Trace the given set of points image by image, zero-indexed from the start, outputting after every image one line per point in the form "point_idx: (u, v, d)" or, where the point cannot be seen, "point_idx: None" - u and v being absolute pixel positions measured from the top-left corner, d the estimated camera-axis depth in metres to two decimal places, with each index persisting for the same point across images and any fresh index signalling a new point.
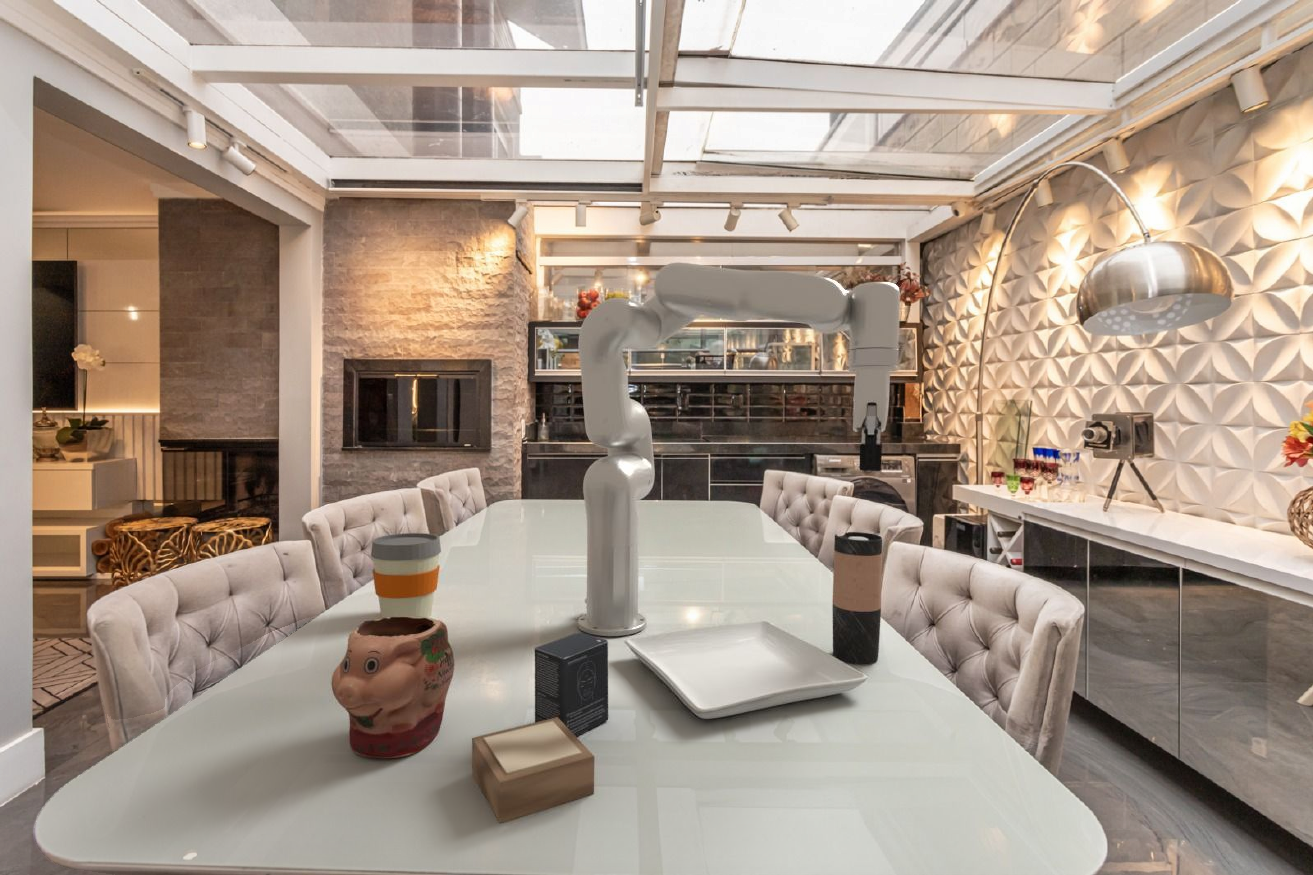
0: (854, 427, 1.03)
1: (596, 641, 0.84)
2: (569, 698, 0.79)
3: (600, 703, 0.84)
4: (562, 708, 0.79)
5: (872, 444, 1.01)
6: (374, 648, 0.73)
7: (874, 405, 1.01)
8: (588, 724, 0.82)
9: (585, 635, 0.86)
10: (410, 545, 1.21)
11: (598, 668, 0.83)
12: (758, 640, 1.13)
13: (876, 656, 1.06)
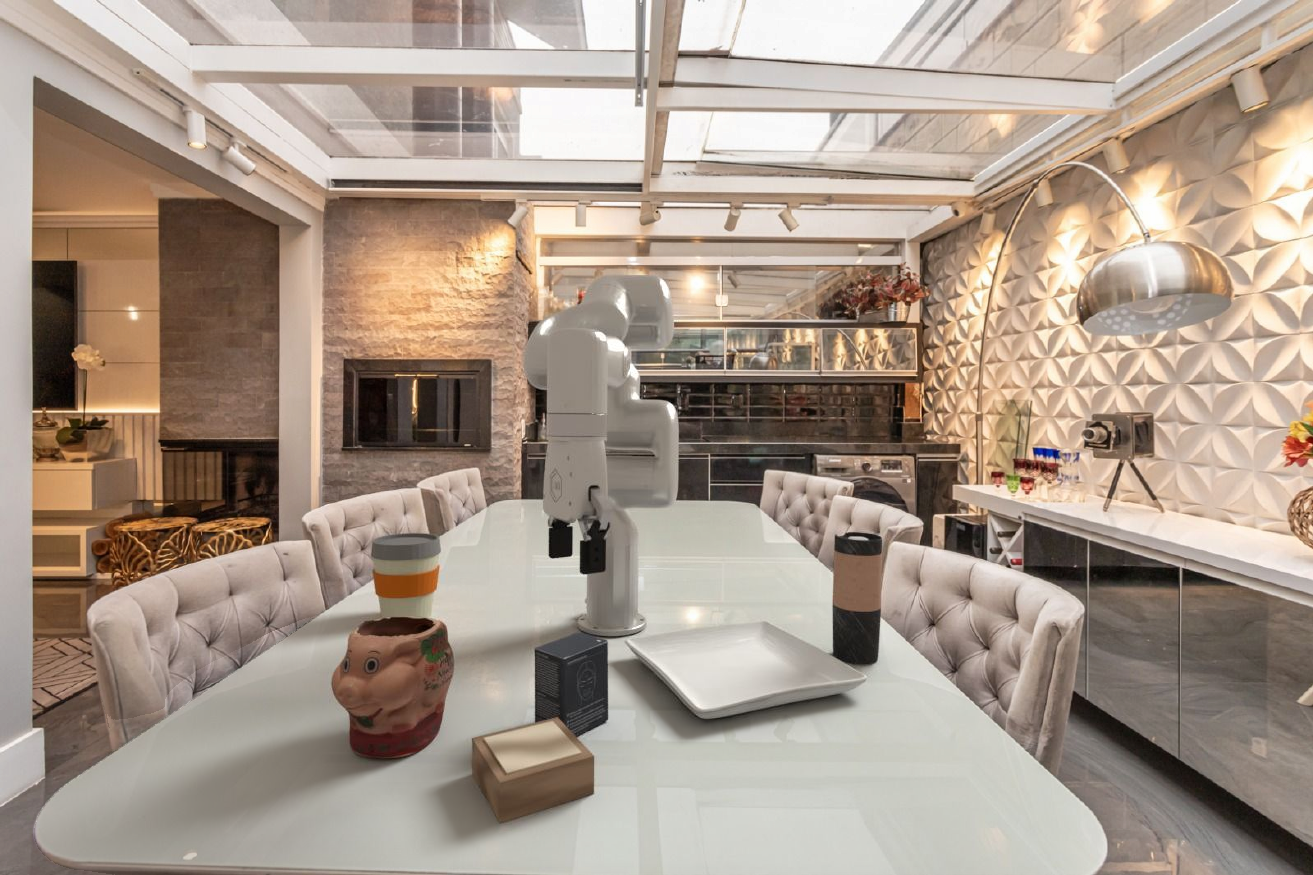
0: (572, 518, 0.78)
1: (596, 641, 0.84)
2: (569, 698, 0.79)
3: (599, 703, 0.84)
4: (561, 708, 0.79)
5: (598, 540, 0.78)
6: (374, 648, 0.73)
7: (597, 489, 0.78)
8: (588, 724, 0.82)
9: (585, 635, 0.86)
10: (410, 545, 1.21)
11: (598, 668, 0.83)
12: (758, 640, 1.13)
13: (876, 656, 1.06)
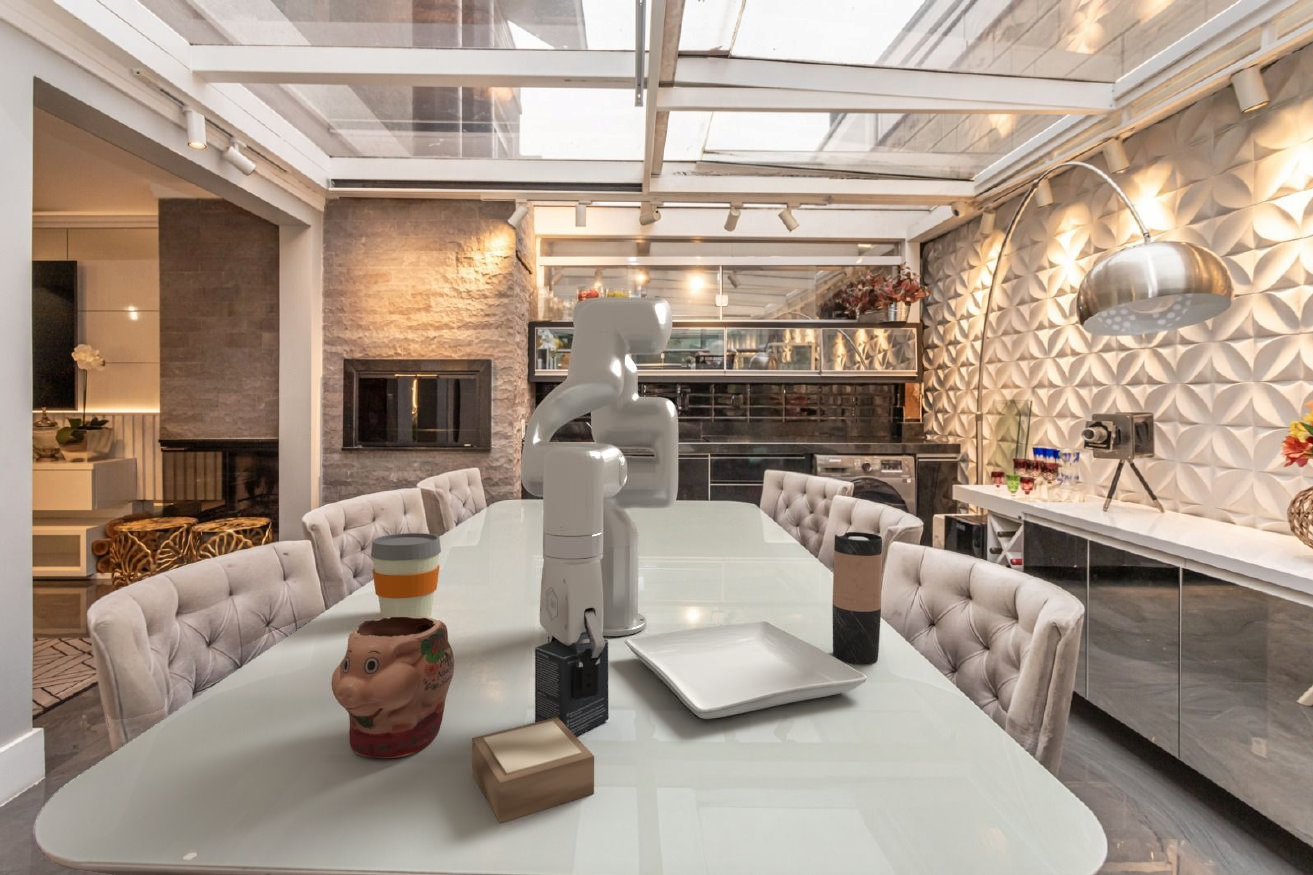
0: (568, 642, 0.78)
1: None
2: (569, 697, 0.79)
3: (600, 703, 0.84)
4: (562, 708, 0.79)
5: (590, 666, 0.79)
6: (374, 648, 0.73)
7: (593, 615, 0.79)
8: (588, 724, 0.82)
9: (585, 635, 0.86)
10: (410, 545, 1.21)
11: (598, 668, 0.83)
12: (758, 640, 1.13)
13: (876, 656, 1.06)
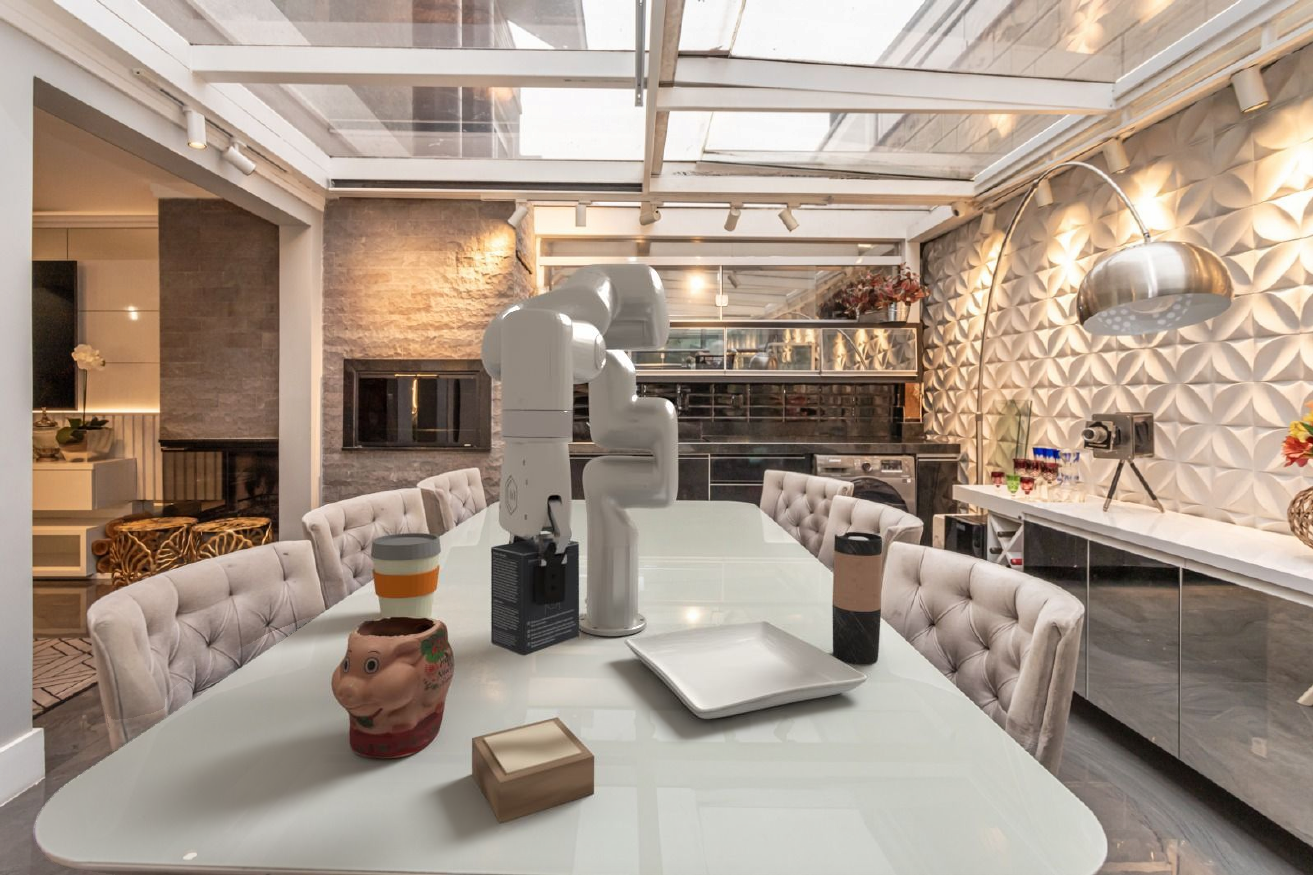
0: (528, 535, 0.65)
1: None
2: (530, 603, 0.67)
3: (568, 615, 0.71)
4: (521, 614, 0.66)
5: (556, 565, 0.66)
6: (374, 648, 0.73)
7: (558, 503, 0.66)
8: (554, 638, 0.69)
9: None
10: (410, 545, 1.21)
11: (567, 573, 0.70)
12: (758, 640, 1.13)
13: (876, 656, 1.06)
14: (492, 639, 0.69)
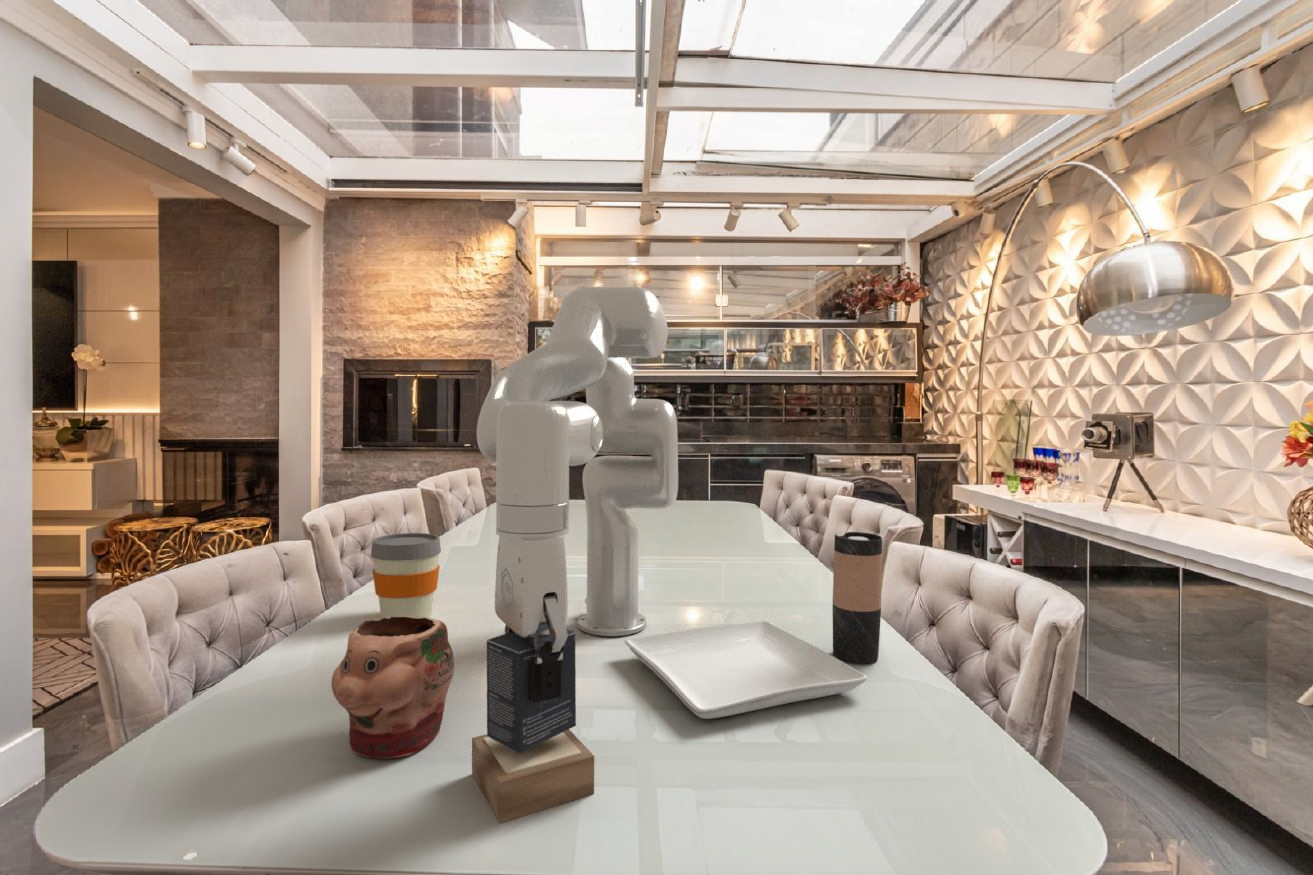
0: (524, 634, 0.65)
1: None
2: (526, 700, 0.66)
3: (565, 706, 0.70)
4: (516, 712, 0.66)
5: (552, 662, 0.66)
6: (374, 648, 0.73)
7: (554, 600, 0.66)
8: (551, 731, 0.69)
9: None
10: (410, 545, 1.21)
11: (563, 665, 0.70)
12: (758, 640, 1.13)
13: (876, 656, 1.06)
14: (488, 732, 0.69)
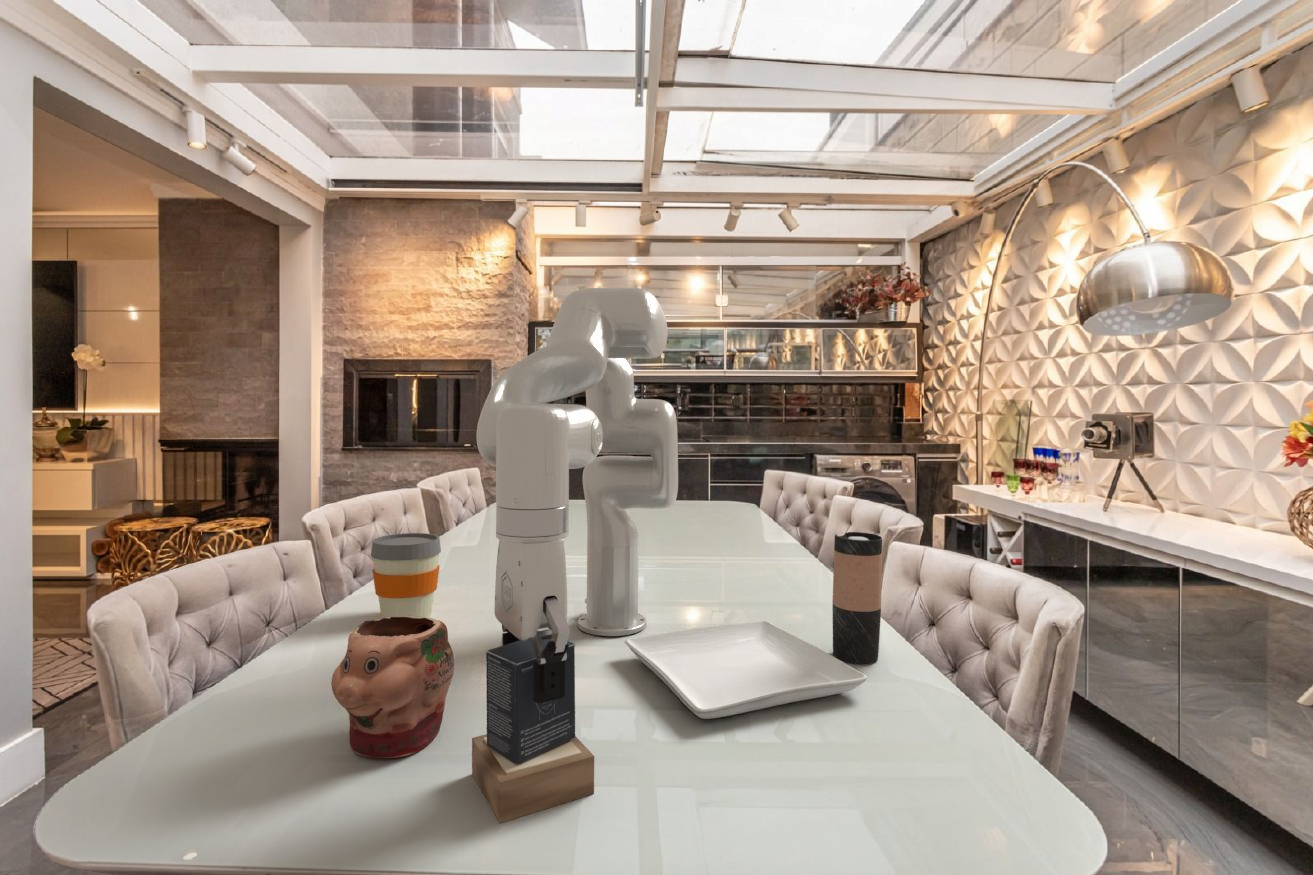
0: (524, 637, 0.65)
1: None
2: (524, 711, 0.66)
3: (564, 718, 0.70)
4: (514, 723, 0.66)
5: (555, 662, 0.65)
6: (374, 648, 0.73)
7: (554, 600, 0.65)
8: (549, 743, 0.69)
9: None
10: (410, 545, 1.21)
11: None
12: (758, 640, 1.13)
13: (876, 656, 1.06)
14: (487, 742, 0.69)
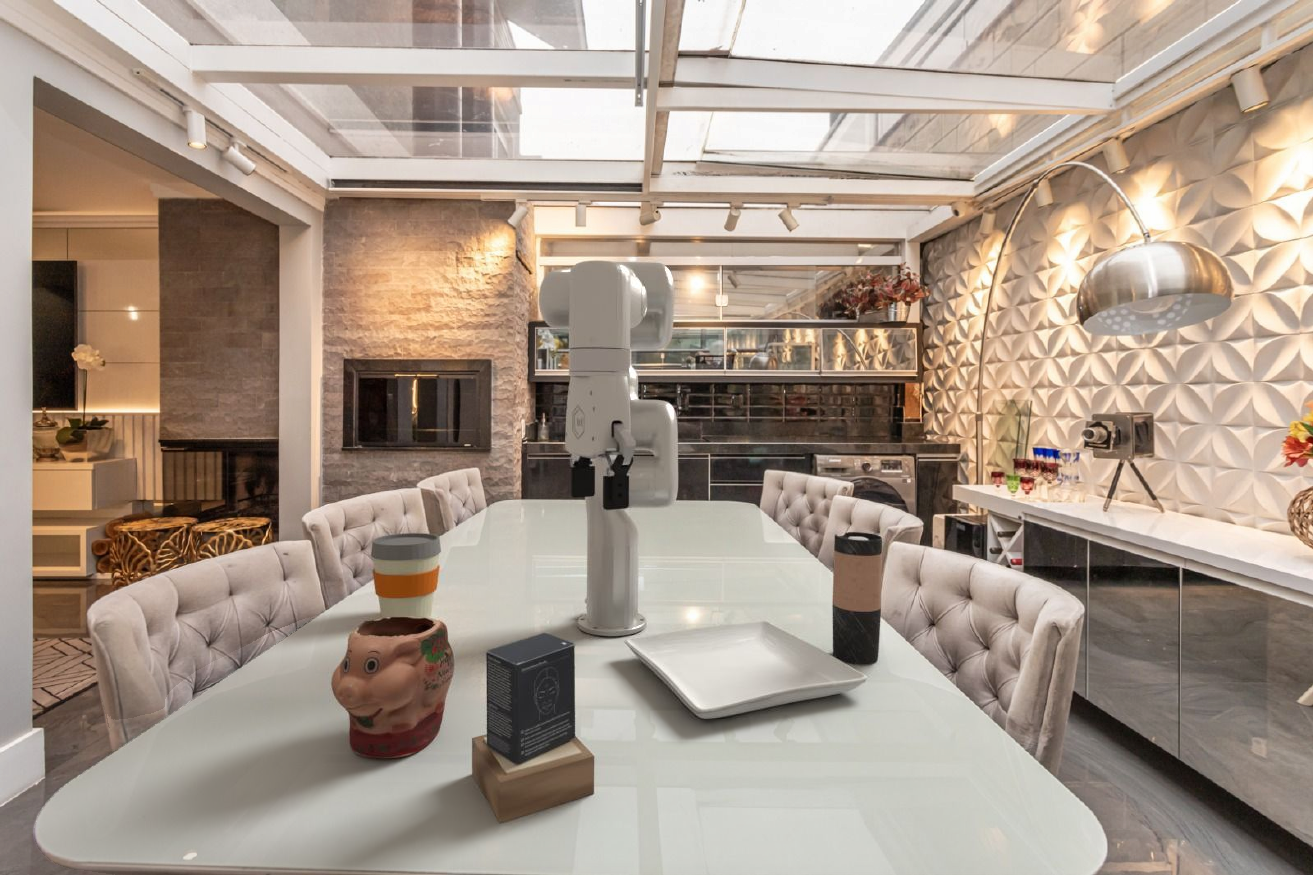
0: (596, 454, 0.77)
1: (560, 644, 0.71)
2: (524, 711, 0.66)
3: (564, 718, 0.70)
4: (514, 723, 0.66)
5: (622, 475, 0.77)
6: (374, 648, 0.73)
7: (621, 424, 0.77)
8: (549, 743, 0.69)
9: (549, 636, 0.73)
10: (410, 545, 1.21)
11: (562, 676, 0.70)
12: (758, 640, 1.13)
13: (876, 656, 1.06)
14: (487, 742, 0.69)
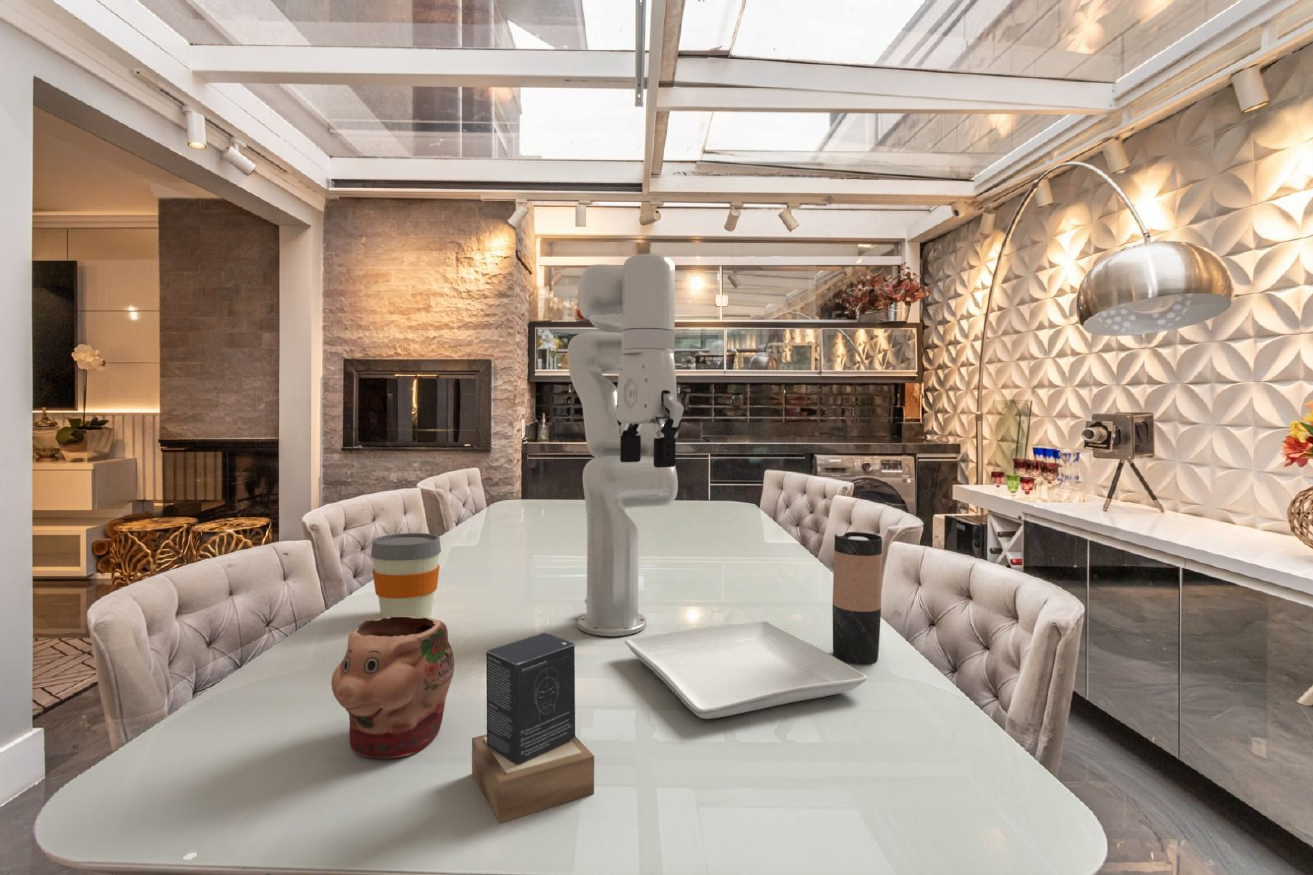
0: (648, 418, 0.89)
1: (560, 644, 0.71)
2: (524, 711, 0.66)
3: (564, 718, 0.70)
4: (514, 723, 0.66)
5: (670, 437, 0.90)
6: (374, 648, 0.73)
7: (669, 393, 0.90)
8: (549, 743, 0.69)
9: (549, 636, 0.73)
10: (410, 545, 1.21)
11: (562, 676, 0.70)
12: (758, 640, 1.13)
13: (876, 656, 1.06)
14: (487, 742, 0.69)
